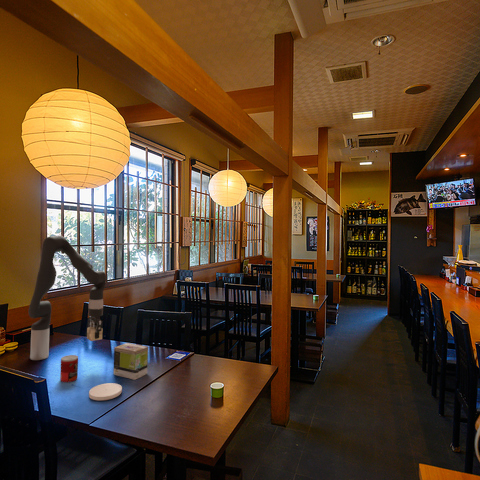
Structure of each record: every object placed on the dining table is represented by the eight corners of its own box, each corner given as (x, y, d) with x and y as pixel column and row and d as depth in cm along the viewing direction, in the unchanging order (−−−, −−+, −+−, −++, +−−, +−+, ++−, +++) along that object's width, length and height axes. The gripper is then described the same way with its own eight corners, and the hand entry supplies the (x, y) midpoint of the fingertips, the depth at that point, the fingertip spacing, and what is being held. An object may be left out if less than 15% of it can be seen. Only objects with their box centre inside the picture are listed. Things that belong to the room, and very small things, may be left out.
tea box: (147, 373, 174) (148, 346, 174) (134, 380, 165) (135, 351, 165) (126, 368, 180) (127, 341, 181) (112, 374, 171) (113, 346, 171)
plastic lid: (124, 398, 147) (124, 392, 147) (90, 405, 140) (90, 399, 140) (119, 386, 159) (119, 381, 159) (87, 392, 152) (87, 386, 152)
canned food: (70, 383, 160) (71, 361, 160) (56, 381, 161) (57, 359, 161) (81, 377, 167) (81, 355, 167) (67, 375, 169) (68, 354, 169)
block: (86, 338, 181) (87, 327, 181) (97, 336, 185) (98, 325, 185) (91, 341, 177) (91, 330, 177) (102, 339, 181) (102, 328, 181)
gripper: (84, 305, 183) (82, 335, 183) (94, 310, 173) (92, 341, 173) (97, 304, 189) (96, 332, 189) (108, 308, 179) (106, 339, 179)
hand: (94, 336), depth 181 cm, fingers closed on block, 6 cm apart
